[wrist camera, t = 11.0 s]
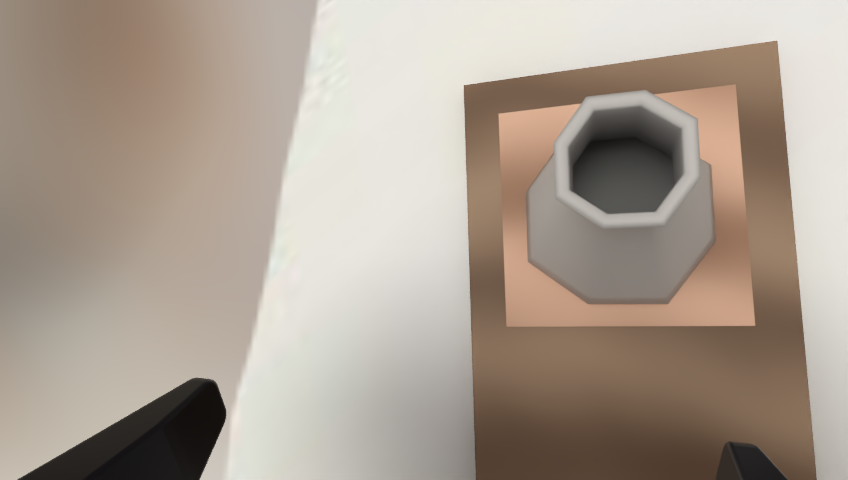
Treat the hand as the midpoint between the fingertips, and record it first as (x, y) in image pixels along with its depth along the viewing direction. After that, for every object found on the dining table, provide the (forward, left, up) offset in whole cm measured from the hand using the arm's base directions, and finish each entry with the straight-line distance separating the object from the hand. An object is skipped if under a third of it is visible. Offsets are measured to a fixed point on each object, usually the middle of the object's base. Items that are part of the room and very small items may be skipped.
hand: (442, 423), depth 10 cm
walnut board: (+2, -3, -14) cm, 15 cm away
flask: (+5, -3, -13) cm, 15 cm away
